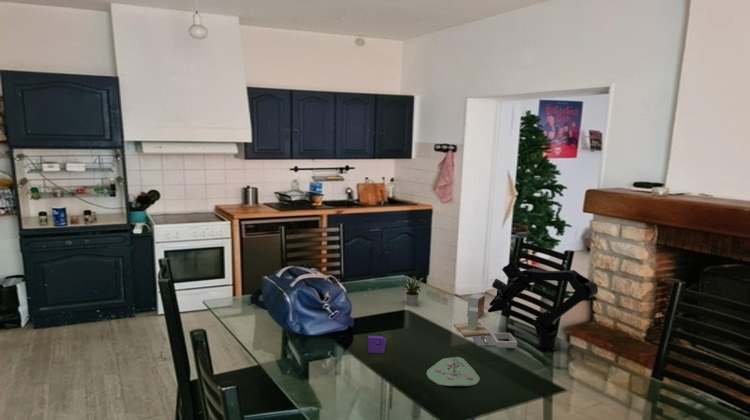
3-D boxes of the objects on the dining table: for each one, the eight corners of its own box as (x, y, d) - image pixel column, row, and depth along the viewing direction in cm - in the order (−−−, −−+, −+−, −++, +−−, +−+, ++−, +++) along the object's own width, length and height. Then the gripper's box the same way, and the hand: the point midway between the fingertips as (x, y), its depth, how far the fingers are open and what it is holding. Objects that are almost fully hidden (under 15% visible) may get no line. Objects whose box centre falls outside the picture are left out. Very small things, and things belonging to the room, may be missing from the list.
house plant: (392, 307, 258) (394, 276, 255) (399, 298, 271) (400, 269, 268) (419, 310, 254) (421, 280, 251) (424, 301, 267) (426, 272, 264)
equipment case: (509, 338, 224) (510, 332, 223) (516, 347, 214) (517, 342, 214) (472, 337, 223) (472, 332, 223) (478, 347, 213) (478, 341, 213)
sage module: (477, 327, 232) (478, 308, 231) (476, 331, 228) (477, 311, 226) (468, 326, 234) (469, 306, 232) (467, 330, 229) (468, 310, 227)
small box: (477, 319, 245) (478, 299, 243) (466, 316, 248) (468, 296, 247) (484, 314, 251) (485, 295, 250) (473, 312, 255) (475, 292, 253)
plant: (425, 356, 205) (426, 335, 203) (475, 359, 203) (477, 338, 202) (427, 387, 180) (428, 364, 178) (484, 391, 178) (486, 368, 177)
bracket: (384, 354, 205) (384, 338, 204) (367, 353, 205) (368, 337, 204) (385, 341, 217) (386, 327, 216) (370, 340, 217) (370, 326, 216)
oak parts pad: (491, 335, 226) (491, 333, 226) (464, 337, 223) (464, 335, 223) (479, 324, 239) (479, 322, 238) (453, 325, 236) (453, 323, 235)
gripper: (504, 269, 231) (479, 288, 236) (502, 280, 214) (475, 301, 219) (521, 287, 230) (495, 306, 235) (520, 300, 213) (492, 320, 218)
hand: (489, 308), depth 227 cm, fingers open, 9 cm apart
